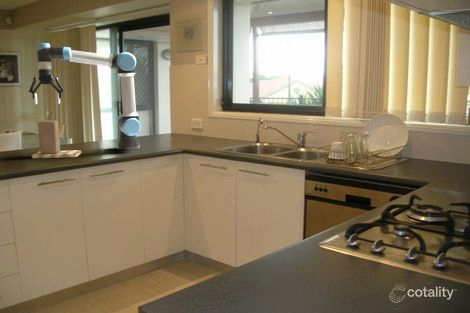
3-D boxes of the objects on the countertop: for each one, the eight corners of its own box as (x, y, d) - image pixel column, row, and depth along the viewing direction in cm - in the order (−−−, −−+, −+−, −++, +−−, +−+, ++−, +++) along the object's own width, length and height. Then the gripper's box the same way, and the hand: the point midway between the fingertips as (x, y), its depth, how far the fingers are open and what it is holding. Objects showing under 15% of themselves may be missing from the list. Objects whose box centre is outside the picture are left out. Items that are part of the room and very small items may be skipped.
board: (81, 153, 297) (80, 150, 296) (76, 157, 281) (76, 153, 281) (39, 154, 293) (38, 151, 292) (32, 158, 277) (31, 154, 277)
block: (56, 153, 281) (54, 121, 278) (39, 154, 280) (37, 121, 277) (60, 151, 291) (58, 120, 288) (44, 151, 290) (41, 120, 286)
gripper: (67, 69, 284) (69, 103, 287) (25, 69, 280) (28, 103, 283) (65, 68, 276) (67, 103, 280) (21, 68, 273) (24, 104, 276)
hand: (47, 103), depth 282 cm, fingers open, 13 cm apart
